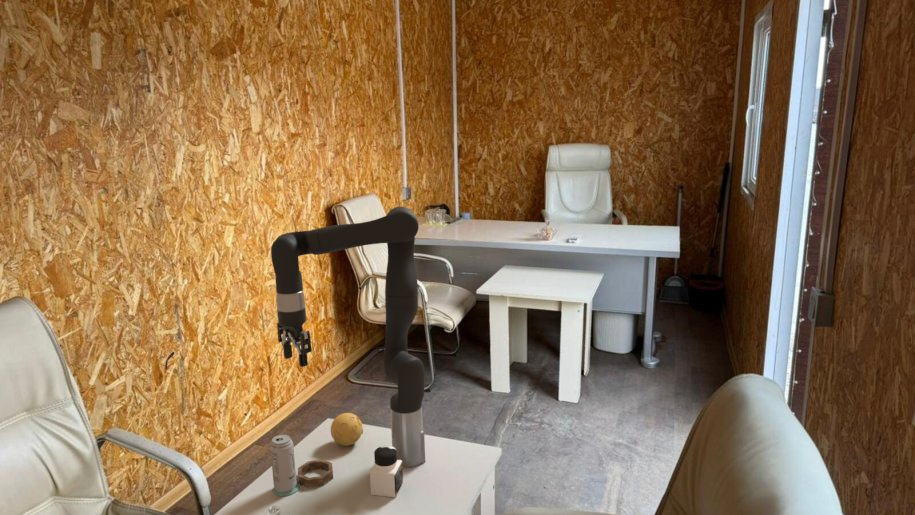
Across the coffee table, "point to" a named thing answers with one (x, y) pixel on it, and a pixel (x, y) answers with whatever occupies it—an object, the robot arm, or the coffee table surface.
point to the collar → (315, 480)
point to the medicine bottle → (386, 472)
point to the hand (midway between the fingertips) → (295, 361)
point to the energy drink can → (283, 463)
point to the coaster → (288, 492)
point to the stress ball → (346, 429)
